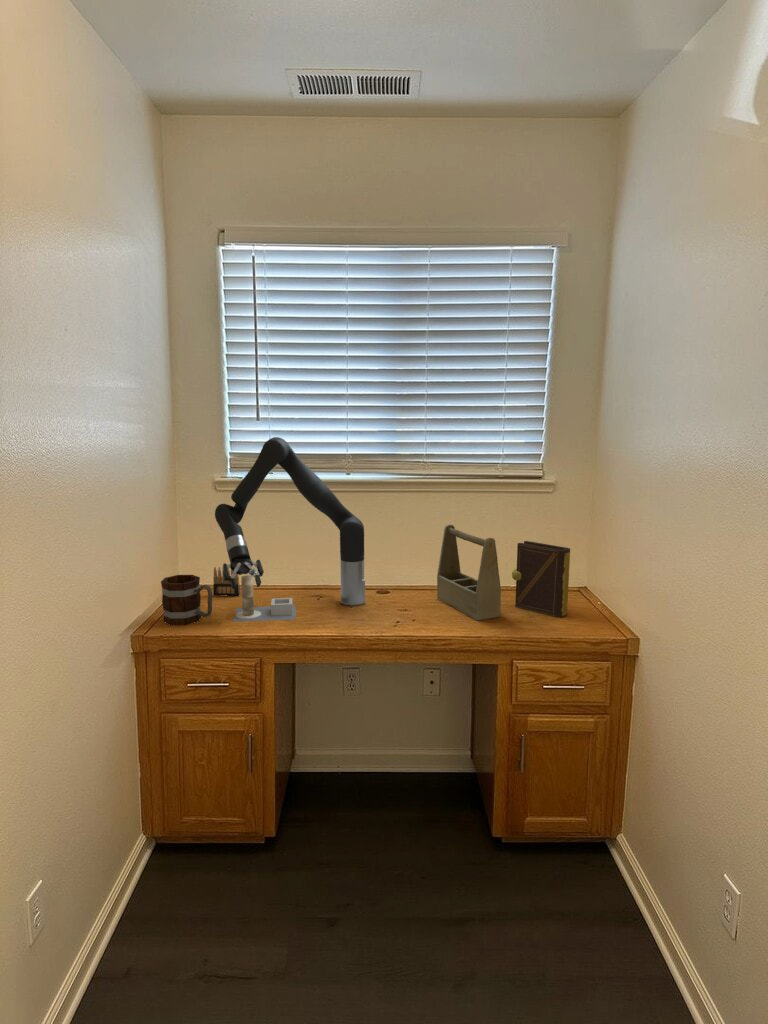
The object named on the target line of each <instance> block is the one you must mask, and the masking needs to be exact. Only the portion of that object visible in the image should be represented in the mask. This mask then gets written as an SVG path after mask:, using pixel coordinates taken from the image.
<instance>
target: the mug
mask: <svg viewBox="0 0 768 1024" xmlns="http://www.w3.org/2000/svg"><path fill="white" fill-rule="evenodd" d="M200 581H201V579H200V576H198V575H195V574H176V575H171V576H166V577H164V578H163V579H162V580H161V581H160V584H161V589H162V590H161V592H162V596H161V597H162V601H161V604H162V610H163V611H162V612H163V617H162V618H163V620H162V621H164V622H166V623H168V624H167V625H169V624H170V625H169V626H187V624H188V625H192V624H195V623H198V622H200V620H201V619H202V618H206V617H209V616H210V615H211V614H212V611H213V590H212V587H211V586H210V585H208V584H203V585H200ZM203 589H205V590H206V591H207V613H205V612H204V611H201V600H202V599H201V598H202V597H201V596H202V595H201V591H202V590H203ZM201 616H202V617H201ZM200 618H201V619H200ZM199 619H200V620H199ZM197 621H198V622H197ZM164 622H163V623H164ZM194 622H195V623H194ZM166 623H165V624H166ZM191 623H192V624H191Z"/></svg>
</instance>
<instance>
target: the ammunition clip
mask: <svg viewBox="0 0 768 1024" xmlns="http://www.w3.org/2000/svg"><path fill="white" fill-rule="evenodd" d="M232 573H233V570H232V569H229V570H228V576H231V575H232ZM239 576H240V575H239V574H237V575H236V577H235V578H234V579H235V582H236V586H237V589H236V590H234V589H232V587H231V583H230V581H228V580H227V581H225V580H224V575H223V570H221V567H220V566H218V569H217V568H216V566H214V568H213V578H212V579H213V586H212V587H213V588H212V589H213V590H212V596H213V595H227V596H226V597H235V596H239V595H240V596H241V587H240V577H239ZM240 596H239V597H240Z"/></svg>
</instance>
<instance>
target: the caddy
mask: <svg viewBox="0 0 768 1024" xmlns="http://www.w3.org/2000/svg"><path fill="white" fill-rule="evenodd" d="M457 538H459V539H461V540H464V541H468V542H470V543H473V544H476V545H478V546H481V547H483V548H482V551H481V558H480V566H479V571H478V576H477V579H475V578H474V577H472V576H469V575H467V574H465V573H462V572H461V566H460V565H461V564H460V557H459V551H458V550H459V548H458V543H457ZM497 552H498V551H497V544H496V540H495V538H493V537H487V538H485V539H484V538H481V537H477V536H475V535H472V534H468V533H465V532H463V531H461V530H459V529H455V526H454V525H453V524H446V525H445V526H444V529H443V536H442V541H441V548H440V554H439V561H438V568H437V575H436V576H437V577H436V578H437V579H436V584H437V585H436V586H437V587H436V588H437V594H436V595H437V597H436V599H437V600H439V601H440V602H441V603H445V604H446V605H448V606H450V607H452V608H454V609H456V610H457V611H458V612H461V613H463V614H464V615H466V616H468V617H470V618H472V619H473V620H474V621H482V620H489V619H493V618H494V619H495V618H500V617H501V608H502V607H501V605H502V604H501V602H502V600H501V599H502V590H501V589H502V588H501V579H500V572H499V571H500V570H499V563H498V562H499V561H498V553H497Z"/></svg>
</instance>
